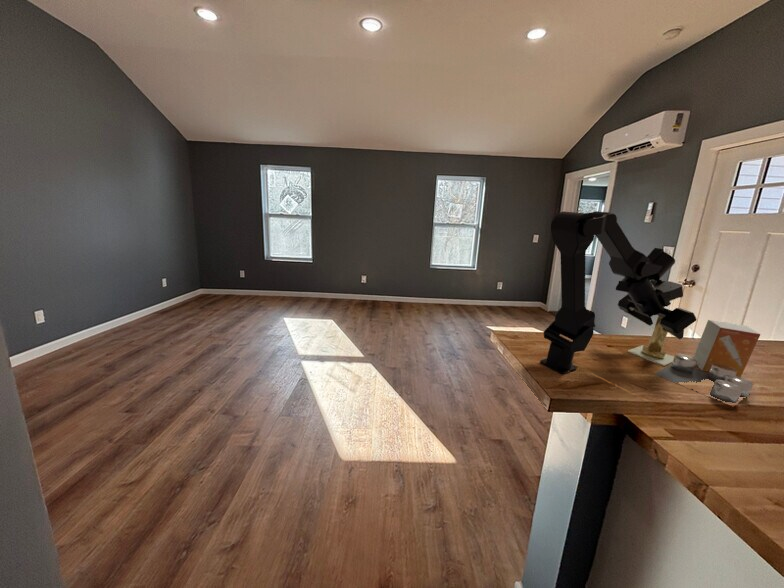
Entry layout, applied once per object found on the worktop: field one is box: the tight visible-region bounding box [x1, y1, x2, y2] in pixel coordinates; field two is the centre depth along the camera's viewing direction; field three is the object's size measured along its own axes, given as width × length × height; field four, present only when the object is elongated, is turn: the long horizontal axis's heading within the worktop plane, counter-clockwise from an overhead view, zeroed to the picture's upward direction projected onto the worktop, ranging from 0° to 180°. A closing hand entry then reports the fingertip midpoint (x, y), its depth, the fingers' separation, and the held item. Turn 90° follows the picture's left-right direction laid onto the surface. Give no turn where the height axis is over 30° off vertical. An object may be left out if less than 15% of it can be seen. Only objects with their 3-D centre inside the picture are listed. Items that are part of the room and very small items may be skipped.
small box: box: [692, 319, 761, 377], centre depth 85 cm, size 8×6×13 cm
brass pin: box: [642, 315, 669, 359], centre depth 90 cm, size 5×5×13 cm
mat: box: [653, 364, 709, 385], centre depth 80 cm, size 15×15×1 cm
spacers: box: [670, 353, 754, 403], centre depth 79 cm, size 15×15×4 cm
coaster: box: [627, 344, 675, 367], centre depth 92 cm, size 9×9×1 cm
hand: (665, 331), depth 90 cm, fingers open, 9 cm apart
